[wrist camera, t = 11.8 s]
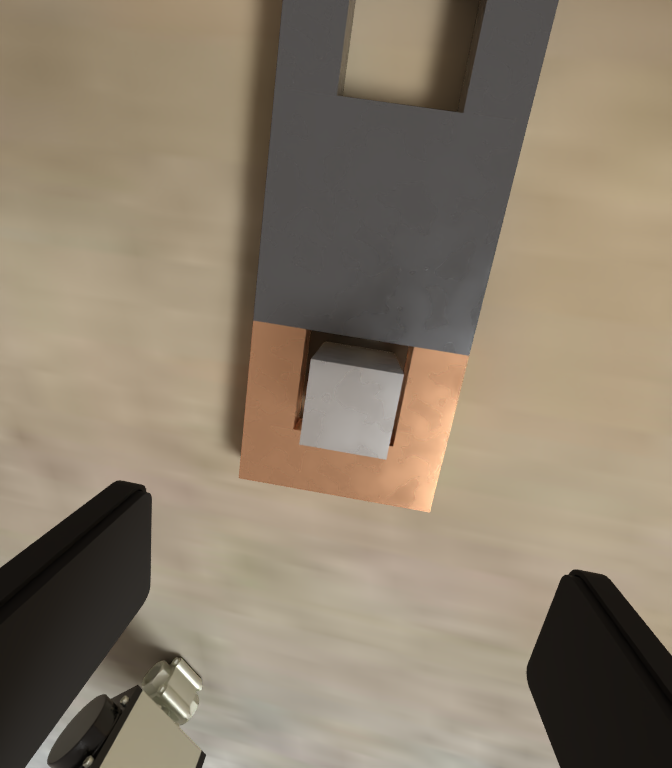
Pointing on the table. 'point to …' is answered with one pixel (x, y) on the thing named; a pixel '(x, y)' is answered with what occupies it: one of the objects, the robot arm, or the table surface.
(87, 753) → the pneumatic valve
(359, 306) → the grey copper flat plate
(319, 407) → the grey rectangular block
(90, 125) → the table surface
